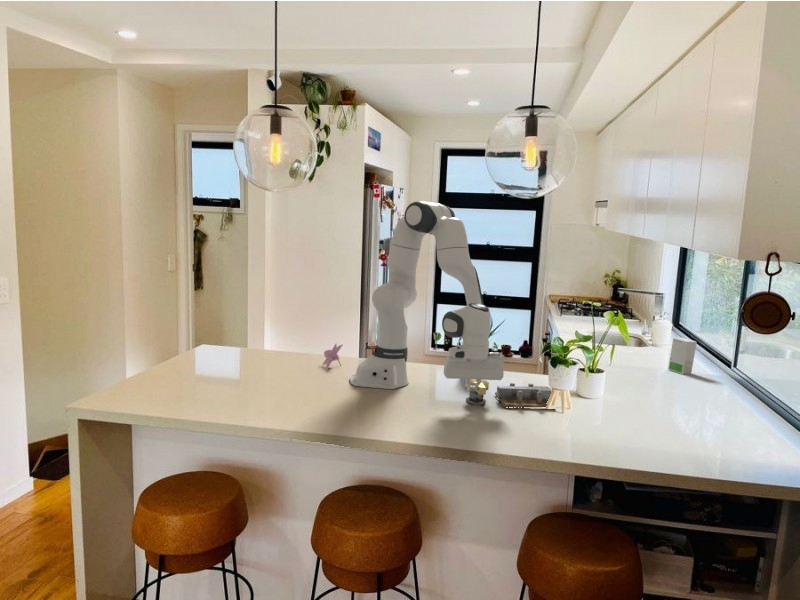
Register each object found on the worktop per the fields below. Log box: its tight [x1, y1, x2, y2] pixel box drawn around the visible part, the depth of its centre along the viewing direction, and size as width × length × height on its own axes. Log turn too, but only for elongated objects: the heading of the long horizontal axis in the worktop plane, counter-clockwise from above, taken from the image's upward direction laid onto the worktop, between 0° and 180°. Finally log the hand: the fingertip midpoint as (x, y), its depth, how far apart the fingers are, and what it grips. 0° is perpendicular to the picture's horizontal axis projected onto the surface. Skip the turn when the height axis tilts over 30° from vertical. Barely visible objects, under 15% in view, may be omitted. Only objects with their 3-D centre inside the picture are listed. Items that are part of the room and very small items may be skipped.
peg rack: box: [494, 382, 547, 409], centre depth 204 cm, size 18×14×6 cm
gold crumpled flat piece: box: [465, 379, 490, 396], centre depth 198 cm, size 12×8×2 cm, turn 5°
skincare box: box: [667, 337, 698, 375], centre depth 265 cm, size 8×7×16 cm
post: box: [465, 392, 487, 406], centre depth 201 cm, size 7×7×5 cm
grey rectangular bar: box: [495, 385, 552, 402], centre depth 203 cm, size 19×5×4 cm, turn 95°
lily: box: [322, 343, 344, 370], centre depth 237 cm, size 12×12×10 cm
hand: (472, 391), depth 194 cm, fingers closed
